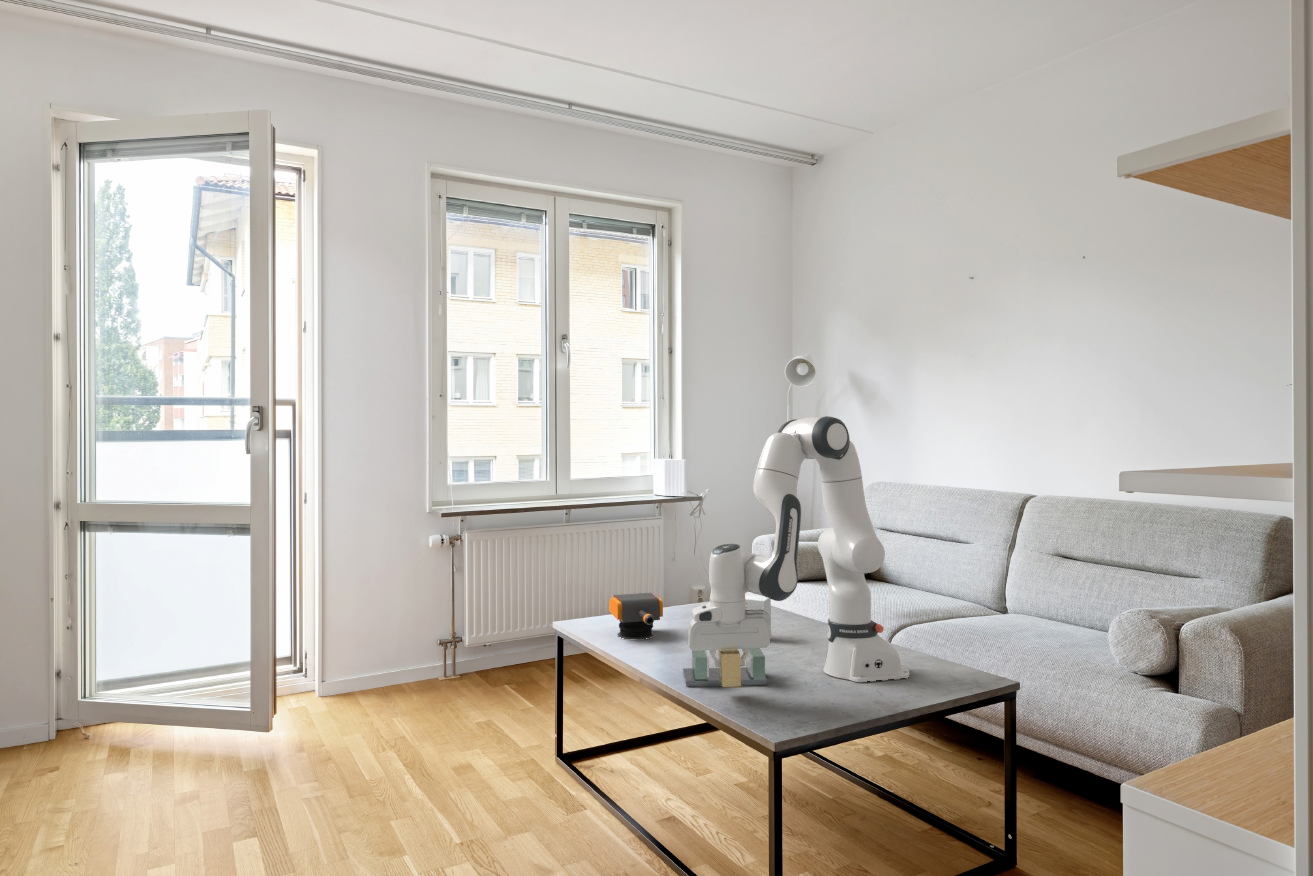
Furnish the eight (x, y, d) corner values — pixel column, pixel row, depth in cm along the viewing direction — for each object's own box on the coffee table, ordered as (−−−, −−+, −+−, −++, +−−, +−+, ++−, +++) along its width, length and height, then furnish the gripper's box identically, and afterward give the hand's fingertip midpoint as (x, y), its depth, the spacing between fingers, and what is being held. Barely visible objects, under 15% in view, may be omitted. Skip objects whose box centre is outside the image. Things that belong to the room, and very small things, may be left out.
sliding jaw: (705, 667, 226) (704, 646, 226) (709, 679, 215) (708, 657, 215) (692, 667, 226) (692, 646, 226) (695, 679, 215) (695, 657, 215)
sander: (626, 651, 249) (626, 609, 249) (608, 631, 273) (608, 593, 273) (673, 647, 253) (673, 605, 253) (651, 628, 277) (651, 590, 277)
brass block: (736, 677, 210) (736, 646, 209) (740, 686, 203) (740, 653, 202) (719, 678, 209) (718, 646, 209) (722, 687, 202) (721, 654, 202)
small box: (771, 638, 263) (771, 597, 263) (764, 642, 258) (764, 600, 258) (747, 635, 267) (747, 594, 267) (740, 639, 261) (740, 598, 261)
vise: (760, 672, 226) (759, 645, 226) (766, 685, 215) (766, 656, 215) (683, 674, 226) (682, 646, 225) (685, 686, 215) (685, 657, 214)
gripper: (767, 606, 209) (768, 660, 209) (686, 609, 208) (687, 664, 209) (771, 612, 203) (773, 668, 203) (688, 615, 202) (689, 672, 202)
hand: (729, 666), depth 206 cm, fingers closed on brass block, 4 cm apart
